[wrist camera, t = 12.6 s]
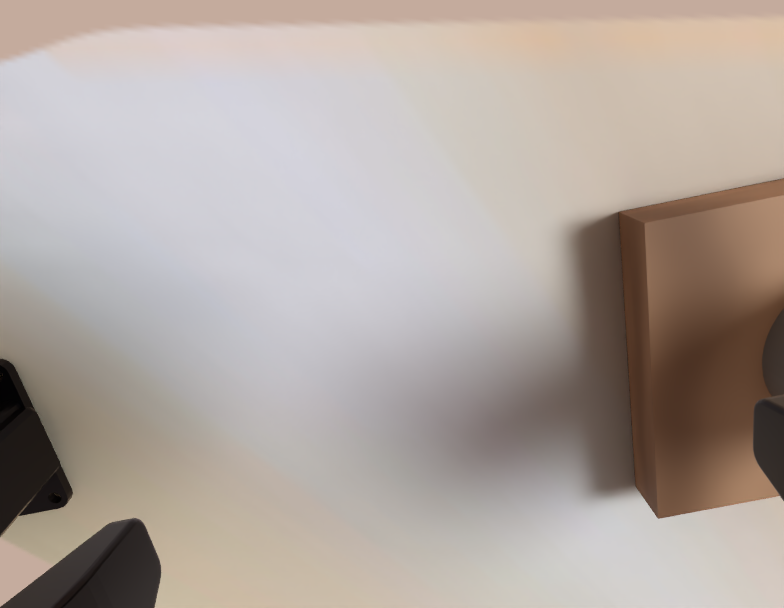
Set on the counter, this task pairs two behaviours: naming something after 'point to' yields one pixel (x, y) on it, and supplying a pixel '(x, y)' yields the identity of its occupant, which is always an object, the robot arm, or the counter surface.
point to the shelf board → (700, 342)
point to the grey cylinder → (774, 357)
